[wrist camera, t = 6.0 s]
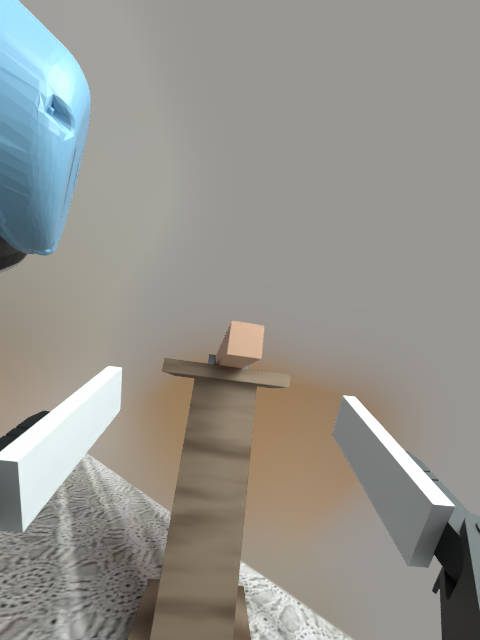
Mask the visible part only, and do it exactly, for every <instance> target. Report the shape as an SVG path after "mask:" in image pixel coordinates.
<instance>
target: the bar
mask: <svg viewBox="0 0 480 640" xmlns="http://www.w3.org/2000/svg"><path fill="white" fill-rule="evenodd" d="M263 336H264V326H261V325H255V324H249V323H243V322H237V321H231V323H230V326H229V328H228V330H227V332H226V335H225V337H224V339H223V342H222V344H221V346H220V349H219V351H218V353H217V355H216V365H221V366H229V367H236V368H244V367H246V366H248V365H250V364H252V363H254V362H256V361H258V360H260V359H261V357H262V346H263Z"/></svg>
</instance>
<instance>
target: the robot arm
mask: <svg viewBox="0 0 480 640" xmlns="http://www.w3.org/2000/svg"><path fill="white" fill-rule="evenodd" d="M90 102H91V101H90V92H89V88H88V84H87V81H86V79H85V76H84V74H83V72H82V70H81V68H80V66H79V64H78V63H77V61H76V60H75V58H74V57H73V56H72V54H71V53H70V52H69V51H68V50H67V49H66V48H65V46H64V45H63V44H62V43H60V41H59V40H58V39H57V38H56V37H54V36H53V34H51V32H50V31H48V30H47V29H46V27H45V26H43V24H42V23H41V22H40V21H38V19H37V18H36V17H35V16H34V15H33V14H32V13H31V12H29V10H27V8H26V7H25V6H23V4H22V3H21V2H19V0H0V273H1V272H4V271H7V270H9V269H11V268H13V267H15V266H17V265H18V264H19V263H21V262H22V261H23V260H24V259H25V257H26V256H27V254H35V253H36V254H39V255H49V254H52V253H53V252H54V251H55V249H56V247H57V245H58V243H59V240H60V237H61V235H62V231H63V229H64V226H65V222H66V218H67V215H68V210H69V207H70V203H71V199H72V195H73V193H74V189H75V186H76V181H77V177H78V173H79V168H80V164H81V160H82V156H83V151H84V146H85V141H86V136H87V130H88V124H89V117H90V107H91V103H90ZM121 379H122V368H120V367H112V366H108V367H107V368H105V369H104V370H103V371H101V372H100V373H99V374H98V375H97V376H95V377H94V378H93V379H91V380H90V381H89V382H88V383H86V384H85V385H84V386H83V387H81V388H80V389H79V390H77V391H76V392H75V393H74V394H73V395H71V396H70V397H69V398H67V399H66V400H65V401H64V402H62V403H61V404H60V405H59V406H57V407H56V408H55V409H54V410H52V411H51V412H49V411H42V412H40V413H38V414H35V415H33V416H31V417H29V418H27V419H26V420H24V421H23V422H22V423H21V424H19V425H18V426H17V427H16V428H14V429H12V430H11V431H9V432H8V433H7V434H6V436H3V437H1V438H0V531H12V532H24V531H25V529H26V528H27V527H28V526H29V524H30V523H31V522H32V521H33V519H34V518H35V517H36V516H37V514H38V513H39V512H40V511H41V509H42V508H43V507H44V505H45V504H46V503H47V502H48V500H49V499H50V498H51V497H52V495H53V494H54V493H55V492H56V490H57V489H58V488H59V487H60V485H61V484H62V483H63V482H64V480H65V479H66V478H67V477H68V475H69V474H70V473H71V471H72V470H73V469H74V468H75V466H76V465H77V464H78V463H79V461H80V460H81V459H82V458H83V456H84V455H85V454H86V453H87V451H88V450H89V448H91V446H92V445H93V444H94V443H95V441H96V440H97V439H98V437H99V436H100V435H101V434H102V432H103V431H104V430H105V429H106V427H107V426H108V425H109V423H110V422H111V421H112V420H113V419H114V417H115V416H116V415H117V414H118V412H119V411H120V405H121V404H120V403H121ZM332 435H333V437H334V439H335V440H336V442H337V444H338V445H339V447H340V449H341V451H342V452H343V454H344V456H345V458H346V459H347V461H348V463H349V465H350V466H351V468H352V470H353V471H354V473H355V475H356V477H357V478H358V480H359V482H360V484H361V485H362V487H363V489H364V491H365V492H366V494H367V496H368V498H369V499H370V501H371V503H372V504H373V506H374V508H375V510H376V511H377V513H378V515H379V517H380V518H381V520H382V522H383V524H384V525H385V527H386V529H387V530H388V532H389V534H390V536H391V538H392V539H393V541H394V543H395V544H396V546H397V548H398V549H399V551H400V553H401V555H402V556H403V558H404V560H405V562H406V563H407V565H408V566H416V567H427V568H428V567H429V565H430V562H431V560H432V558H433V556H434V555H435V556H436V558H437V559H438V561H439V562H440V563H441V565H442V566H443V567H442V569H441V571H440V573H439V575H438V578H437V580H436V582H435V584H434V587H433V590H432V591H433V592H434V593H435V594H436V593H437V591H438V589H440V602H441V624H442V625H441V626H442V640H480V516H478V515H474V514H471V513H470V512H469V511H468V510H467V509H466V508H465V507H464V506H463V505H462V504H461V503H460V502H459V501H458V500H457V499H456V498H455V496H454V495H453V494H452V493H451V492H450V491H449V490H448V489H447V488H446V487H445V486H444V485H443V484H442V483H441V482H439V481H438V479H437V478H436V476H435V475H434V474H433V473H431V472H430V470H429V469H428V468H427V467H426V466H425V465H424V464H423V463H422V462H421V461H420V460H419V459H417V458H416V457H414V456H413V455H412V454H411V453H409V452H408V451H404V450H403V449H402V448H401V447H400V446H399V444H398V443H397V442H396V441H395V440H394V439H393V438H392V437H391V436H390V435H389V434H388V433H387V431H386V430H385V429H384V428H383V427H382V426H381V425H380V424H379V423H378V421H377V420H376V419H375V418H374V417H373V416H372V415H371V414H370V413H369V412H368V411H367V409H366V408H365V407H364V406H363V405H362V404H361V403H360V402H359V401H358V400H357V399H356V397H351V396H343V397H342V401H341V405H340V408H339V412H338V415H337V419H336V423H335V427H334V430H333V434H332Z"/></svg>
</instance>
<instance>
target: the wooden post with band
mask: <svg viewBox="0 0 480 640" xmlns="http://www.w3.org/2000/svg"><path fill="white" fill-rule="evenodd" d="M162 371H163V372H166V373H169V374H172V375H174V376H181V377H189V378H195V380H194V386H193V392H192V398H191V404H190V409H189V416H188V421H187V427H186V433H185V438H184V444H183V450H182V456H181V462H180V467H179V474H178V479H177V485H176V491H175V497H174V503H173V508H172V514H171V520H170V526H169V531H168V537H167V543H166V549H165V555H164V561H163V566H162V572H161V578H160V580H157V579H149V580H148V583H147V586H146V588H145V591H144V594H143V597H142V600H141V603H140V605H139V608H138V611H137V614H136V617H135V619H134V622H133V625H132V628H131V631H130V633H129V636H128V639H127V640H251V637H250V630H249V622H248V615H247V608H246V601H245V594H244V586H238V580H239V569H240V559H241V548H242V537H243V526H244V516H245V506H246V495H247V484H248V474H249V463H250V452H251V442H252V431H253V421H254V410H255V400H256V389H257V386H259V387H267V388H287V387H290V375H289V374H282V373H274V372H267V371H259V370H252V369H249V365H248V366H246V367H244V368H236V367H229V366H221V365H216V355H210V354H209V360H208V364H206V363H198V362H190V361H183V360H176V359H168V358H165V359H164V363H163V368H162Z"/></svg>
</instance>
